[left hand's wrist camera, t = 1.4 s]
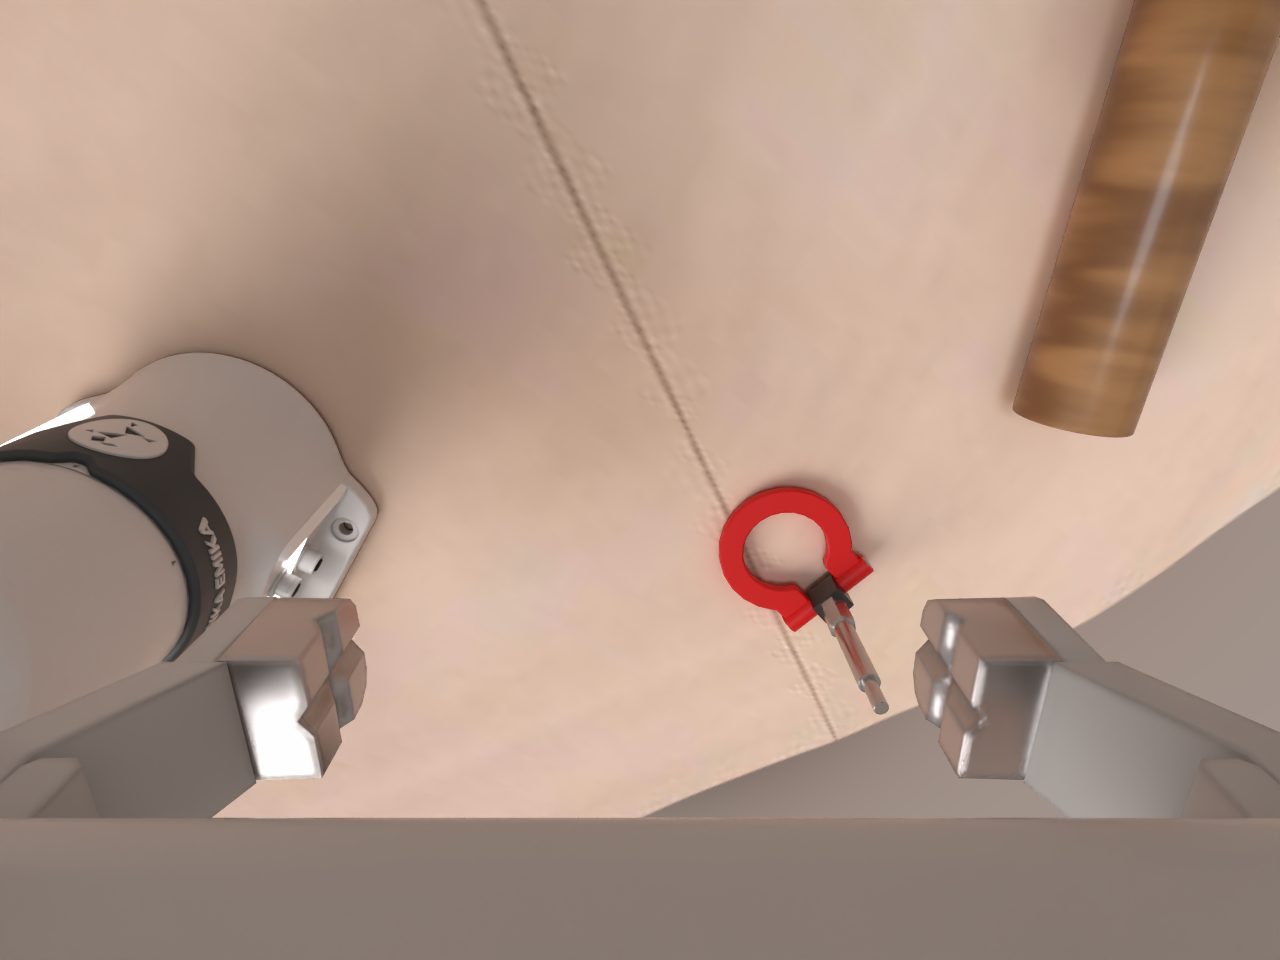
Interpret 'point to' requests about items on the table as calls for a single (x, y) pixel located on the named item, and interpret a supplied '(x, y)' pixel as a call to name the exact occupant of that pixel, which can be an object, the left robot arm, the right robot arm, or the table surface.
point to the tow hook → (791, 600)
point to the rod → (1144, 208)
